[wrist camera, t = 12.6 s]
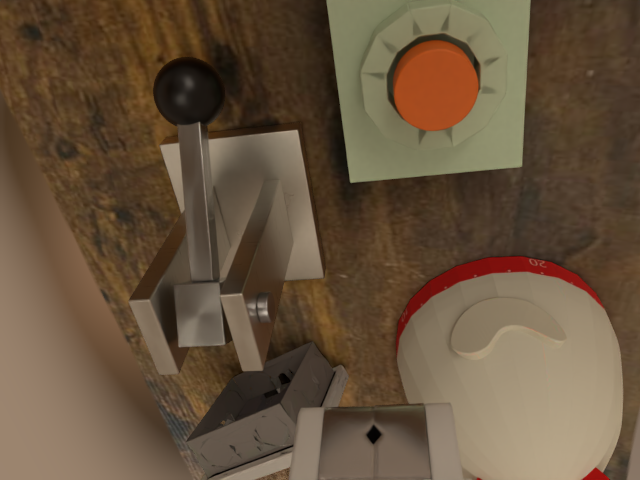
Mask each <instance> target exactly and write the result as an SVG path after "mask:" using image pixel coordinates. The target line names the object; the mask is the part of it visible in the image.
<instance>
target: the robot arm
mask: <svg viewBox="0 0 640 480" xmlns="http://www.w3.org/2000/svg"><path fill="white" fill-rule="evenodd" d="M424 408H425V409H424ZM289 480H472V479H463V474H462V467H461V461H460V454H459V447H458V441H457V434H456V428H455V421H454V414H453V408H452V405H451V403H426V404H425V405H424V403H416V404H396V405H376V406H374V407H313V408H301V409H300V411H299V414H298V418H297V425H296V432H295V439H294V446H293V452H292V459H291V466H290V473H289Z"/></svg>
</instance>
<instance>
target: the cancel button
mask: <svg viewBox="0 0 640 480" xmlns="http://www.w3.org/2000/svg"><path fill="white" fill-rule="evenodd" d="M478 87H479V86H478V78H477V74H476V71H475V69H474V67H473V65H472V64H471V62H470V60H469V58H468V57H467V55H466V54H465V53H464V52H463V51H462V49H460V48H459V47H458V46H456V45H454V44H452V43H450V42H447V41H443V40H430V41H425V42H422V43H420V44H418V45H416V46H414V47H412V48H411V49H410V50H408V51H407V52H406V53H405V54H404V55H403V56H402V58H401V59H400V61H399V62H398V64H397V66H396V69H395V72H394V76H393V92H394V101H395V105H396V107H397V110H398V112H399V113H400V115H401V116H402V117H403V119H404V120H405V121H406V122H408V123H409V124H410V125H412V126H414V127H416V128H418V129H421V130H426V131H439V130H444V129H447V128H450V127H452V126H454V125H456V124H457V123H459V122H460V121H462V120H463V119H464V118H465V117H466V116H467V115H468V113H469V112H470V111H471V109H472V108H473V106H474V104H475V102H476V99H477V95H478Z"/></svg>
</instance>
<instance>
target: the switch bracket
mask: <svg viewBox="0 0 640 480" xmlns="http://www.w3.org/2000/svg"><path fill="white" fill-rule="evenodd" d="M208 140H209V152H210V164H211V175H212V187H213V199H214V211H215V222H216V234H217V246H218V257H219V269H220V278H223V277H226V280H225V282H224V285H223V287H222V290H221V292H220V295H219V296H220V299H221V303H222V306H223V309H224V312H225V316H226V319H227V322H228V325H229V329H230V332H231V335H232V338H233V342H234V345H235V348H236V351H237V355H238V358H239V361H240V364H241V368H242V371H262V370H263V369H264V365H265V361H266V356H267V352H268V348H269V344H270V340H271V335H272V331H273V327H274V323H275V319H276V314H277V310H278V306H279V302H280V298H281V293H282V289H283V285H284V281H291V280H305V279H320V278H324V277H325V269H326V266H325V260H324V254H323V249H322V243H321V237H320V231H319V225H318V220H317V214H316V208H315V202H314V196H313V191H312V185H311V179H310V173H309V167H308V162H307V156H306V150H305V144H304V138H303V133H302V127H301V123H300V122H297V123H288V124H279V125H270V126H261V127H252V128H243V129H234V130H225V131H217V132H208ZM159 146H160V149H161V152H162V155H163V158H164V161H165V165H166V168H167V171H168V174H169V177H170V180H171V183H172V186H173V189H174V193H175V196H176V199H177V202H178V205H179V208H180V211H181V216H180V217H179V219H178V221H177V222H176V224H175V226H174V227H173V229H172V230H171V232H170V234H169V235H168V237H167V239H166V240H165V242H164V244H163V245H162V247H161V248H160V250H159V252H158V253H157V255H156V257H155V258H154V260H153V262H152V263H151V265H150V267H149V268H148V270H147V271H146V273H145V275H144V276H143V278H142V280H141V281H140V283H139V285H138V286H137V288H136V290H135V291H134V293H133V294H132V296H131V298H130V299H129V304H130V306H131V309H132V311H133V314H134V316H135V318H136V321H137V323H138V325H139V328H140V330H141V333H142V335H143V337H144V340H145V342H146V344H147V347H148V349H149V352H150V354H151V356H152V359H153V361H154V363H155V366H156V368H157V371H158V373H159V374H160V375H168V374H179V372H180V370H181V367H182V365H183V362H184V360H185V357H186V355H187V353H188V350H189V348H190V347H179V346H178V335H177V324H176V312H175V301H174V289H173V286H174V285H176V284H179V283H183V282H187V281H190V280H191V277H190V265H189V254H188V242H187V231H186V219H185V208H184V196H183V184H182V173H181V161H180V150H179V138H178V136H172V137H166V138H165V139H164V140H163V141H162V142H161V144H160V145H159Z"/></svg>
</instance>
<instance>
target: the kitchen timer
mask: <svg viewBox="0 0 640 480" xmlns="http://www.w3.org/2000/svg"><path fill="white" fill-rule="evenodd" d="M396 355H397V364H398V368H399V372H400V376H401V380H402V384H403V388H404V391H405V395H406V397H407V400H408V402H409V404H416V403H424V405H425V404H426V403H451V405H452V408H453V414H454V421H455V428H456V434H457V441H458V447H459V454H460V461H461V467H462V474H463V479H472V480H610V479H609V478H608V477H607V476H606V475H605V474H603V471H604V469H605V467H606V465H607V463H608V461H609V459H610V457H611V455H612V453H613V451H614V449H615V447H616V444H617V441H618V438H619V434H620V430H621V424H622V411H623V380H622V365H621V355H620V349H619V345H618V341H617V338H616V335H615V332H614V330H613V328H612V325H611V323H610V321H609V318H608V316H607V314H606V311H605V309H604V307H603V305H602V304H601V302H600V300H599V298H598V296H597V295H596V293H595V292H594V291H593V290H592V289H591V288H590V287H589V286H588V285H587V284H586V283H585V282H584V281H583V280H582V279H581V278H580V277H579V276H578V275H576V274H574V273H572V272H570V271H568V270H566V269H564V268H562V267H560V266H558V265H556V264H554V263H552V262H548V261H543V260H538V259H532V258H527V257H522V256H513V257H491V258H484V259H481V260H477V261H474V262H470V263H466V264H463V265H459V266H456V267H454V268H452V269H450V270H449V271H447V272H445V273H443V274H441V275H440V276H438V277H436V278H434V279H432V280H430V281H429V282H428V283H427V284H426V285H425V286H424V287H423V288H422V289H421V290H420V291H419V292H418V293H417V294H416V295H415V296H414V297H413V298H412V299H410V301H409V303H408V305H407V307H406V308H405V310H404V312H403V314H402V316H401V318H400V320H399V323H398V331H397V338H396ZM424 409H425V408H424Z"/></svg>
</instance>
